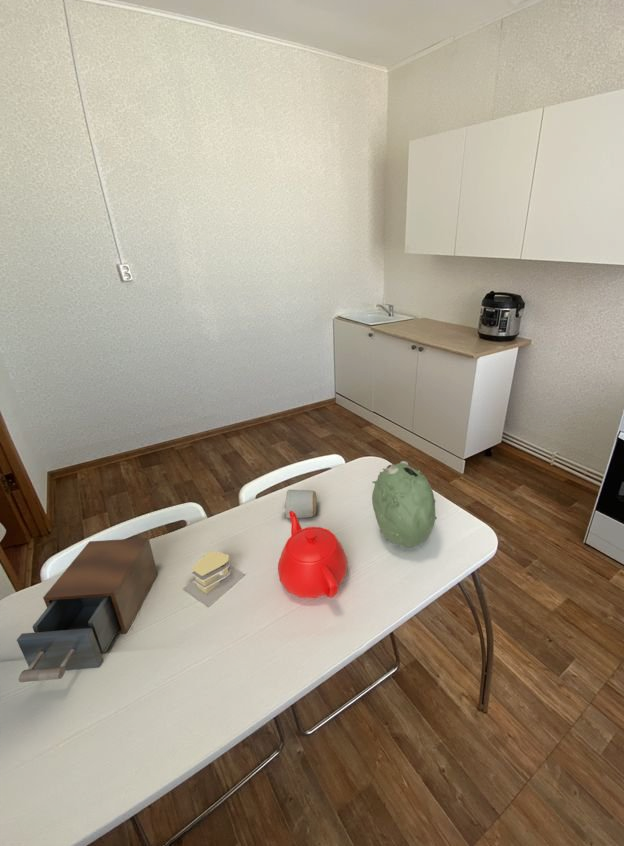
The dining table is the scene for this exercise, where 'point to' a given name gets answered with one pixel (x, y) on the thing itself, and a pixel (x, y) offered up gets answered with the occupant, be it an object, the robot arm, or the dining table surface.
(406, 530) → the green bumpy oval shape
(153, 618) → the dining table surface
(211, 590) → the stacked layers on plate
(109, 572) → the cabinet
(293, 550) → the teapot
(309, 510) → the ceramic mug
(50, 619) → the dark grey drawer
